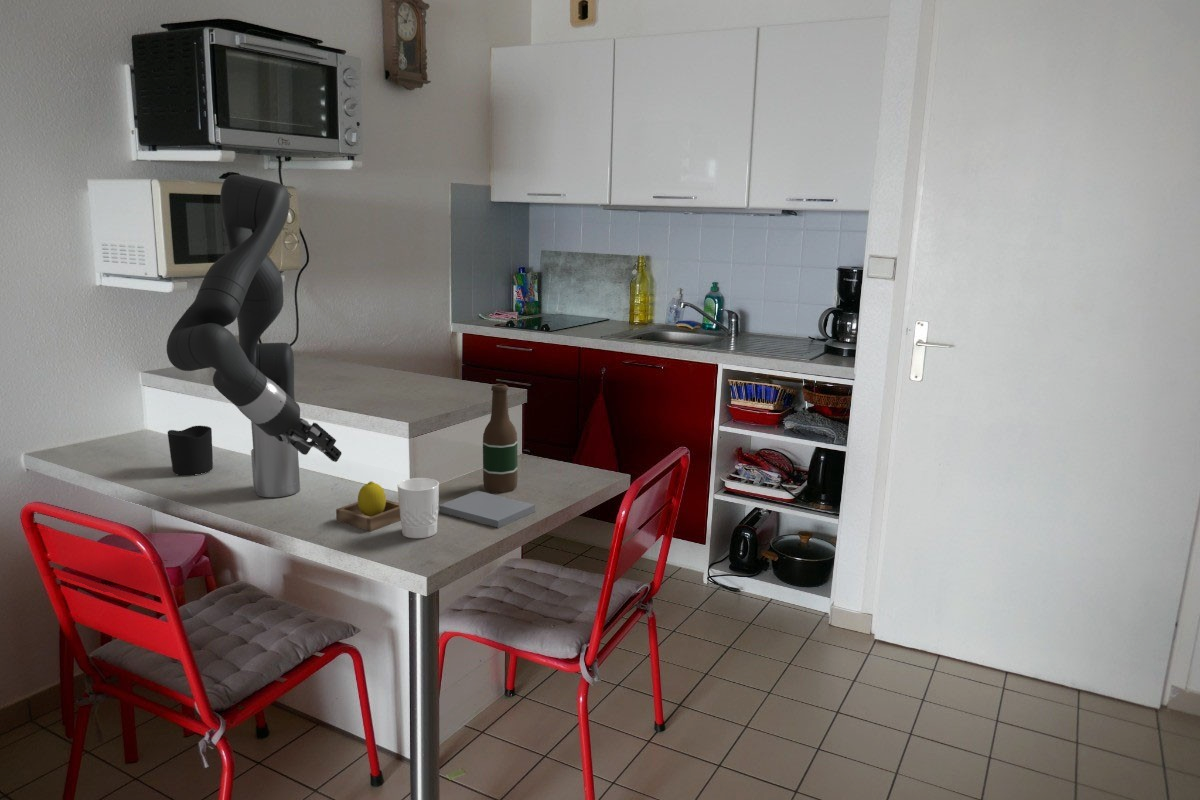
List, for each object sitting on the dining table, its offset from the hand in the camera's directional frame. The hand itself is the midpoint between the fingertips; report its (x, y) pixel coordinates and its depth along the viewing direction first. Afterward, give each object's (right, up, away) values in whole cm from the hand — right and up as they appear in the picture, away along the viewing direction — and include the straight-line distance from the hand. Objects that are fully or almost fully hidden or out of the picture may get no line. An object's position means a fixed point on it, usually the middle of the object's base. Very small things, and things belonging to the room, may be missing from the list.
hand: (322, 454), depth 166 cm
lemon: (+6, -14, +13) cm, 20 cm away
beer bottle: (+30, -10, +34) cm, 47 cm away
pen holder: (-44, -7, +43) cm, 62 cm away
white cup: (+17, -16, +6) cm, 24 cm away
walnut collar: (+6, -14, +13) cm, 20 cm away
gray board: (+29, -13, +19) cm, 37 cm away
